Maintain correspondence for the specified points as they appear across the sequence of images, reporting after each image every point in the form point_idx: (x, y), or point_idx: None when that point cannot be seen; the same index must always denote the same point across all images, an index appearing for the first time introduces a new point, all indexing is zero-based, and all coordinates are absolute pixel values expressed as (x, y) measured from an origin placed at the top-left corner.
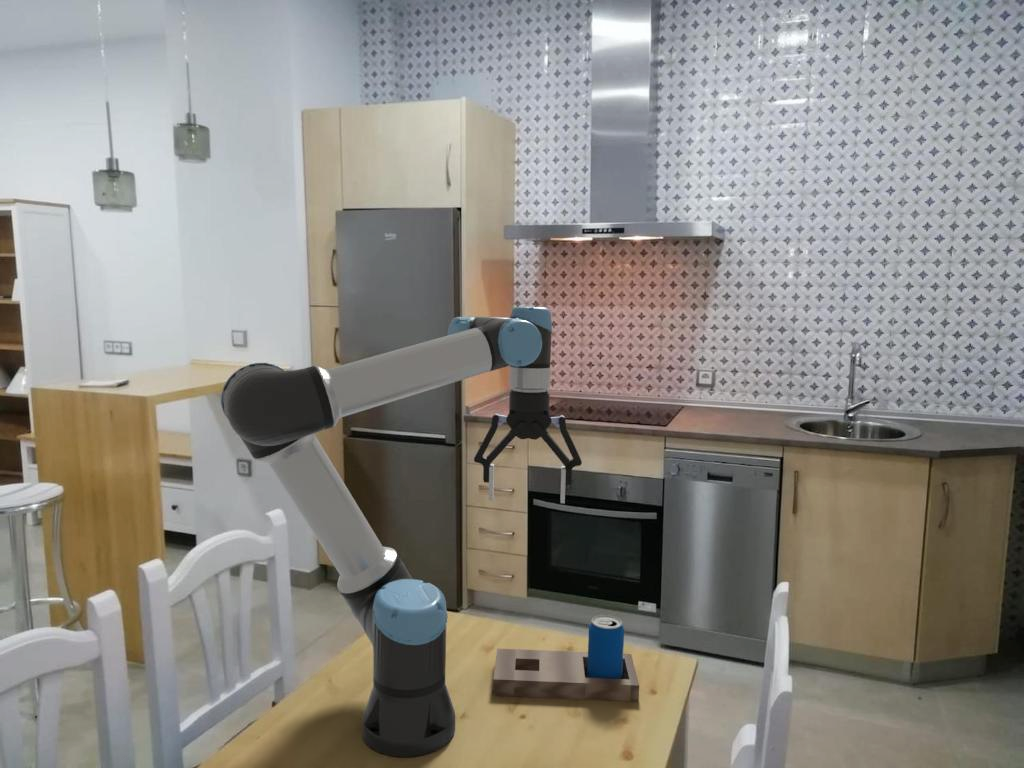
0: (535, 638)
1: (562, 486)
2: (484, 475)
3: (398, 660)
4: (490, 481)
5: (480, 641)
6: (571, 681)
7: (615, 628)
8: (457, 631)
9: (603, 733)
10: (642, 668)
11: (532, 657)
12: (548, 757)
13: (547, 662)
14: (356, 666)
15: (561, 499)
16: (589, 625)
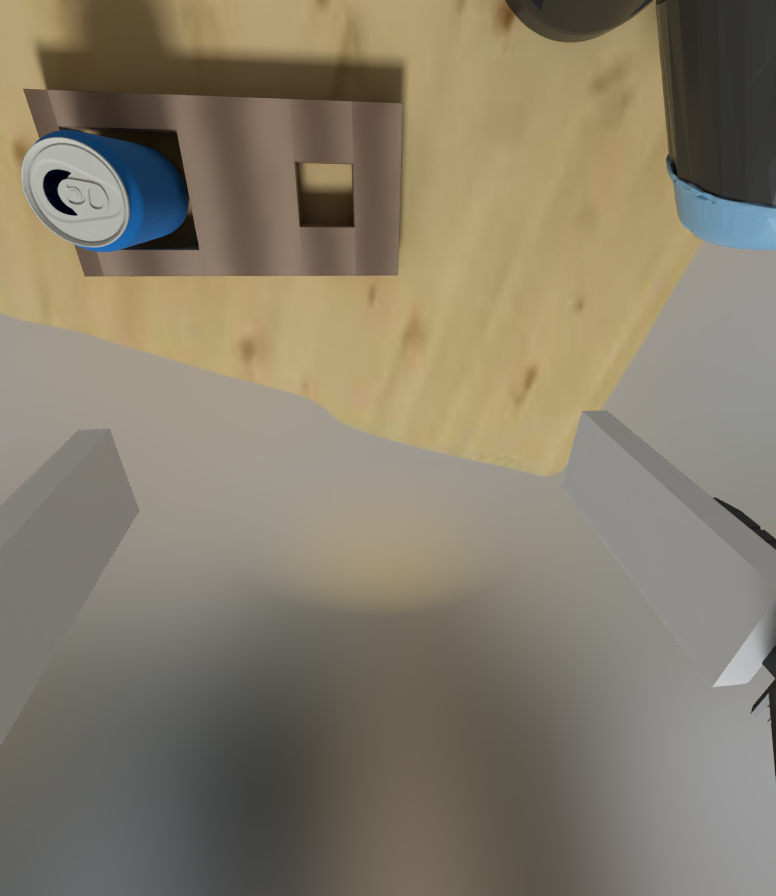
0: (321, 386)
1: (23, 507)
2: (764, 536)
3: None
4: (687, 488)
5: (428, 361)
6: (208, 103)
7: (36, 144)
8: (472, 397)
9: None
10: (74, 274)
11: (316, 236)
12: None
13: (279, 211)
14: (670, 230)
15: (91, 443)
16: (141, 203)
